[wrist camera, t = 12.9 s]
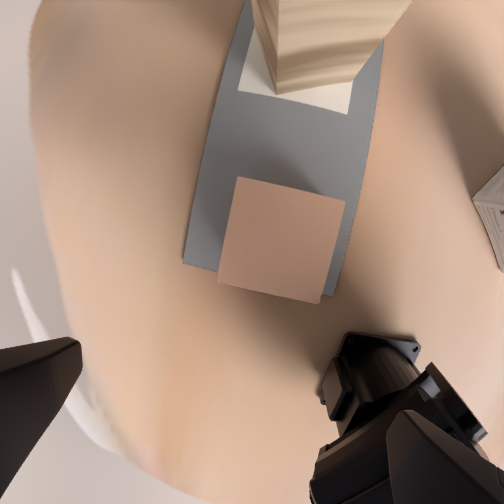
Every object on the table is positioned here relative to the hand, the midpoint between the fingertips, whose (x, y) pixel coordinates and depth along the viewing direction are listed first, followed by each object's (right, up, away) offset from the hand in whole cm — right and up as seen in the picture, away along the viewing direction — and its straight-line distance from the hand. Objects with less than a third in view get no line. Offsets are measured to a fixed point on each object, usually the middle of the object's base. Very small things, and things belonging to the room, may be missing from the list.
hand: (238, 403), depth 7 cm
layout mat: (+3, +12, +11) cm, 16 cm away
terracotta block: (+2, +5, +12) cm, 13 cm away
